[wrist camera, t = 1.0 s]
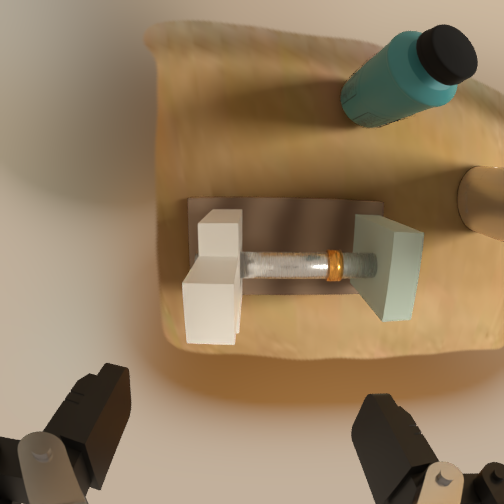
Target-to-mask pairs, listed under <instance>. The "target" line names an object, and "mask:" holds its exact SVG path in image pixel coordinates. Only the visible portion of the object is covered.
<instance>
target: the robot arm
mask: <svg viewBox="0 0 504 504" xmlns="http://www.w3.org/2000/svg"><path fill="white" fill-rule="evenodd" d="M458 209H459V213H460V216H461V219H462V220H463V222H464V224H465V225H466V226H467V227H468V228H469V229H471V230H473V231H475V232H478V233H481V234H484V235H486V236H489V237H492V238H494V239H497V240H500V241H502V242H504V168H500V167H485V166H477V167H474V168H471V169H470V170H469V171H468V172H467V173H466V174H465V175H464V176H463V178H462V180H461V182H460V186H459V189H458ZM130 411H131V392H130V376H129V369H128V368H126V367H122V366H118V365H113V364H110V363H106V364H104V366H103V367H102V369H101V370H100V372H99V373H98V375H94V374H90V373H89V374H88V375H86V376H85V377H83V378H81V379H80V380H78V381H77V382H76V384H75V385H74V387H73V388H72V389H71V392H70V393H69V394H68V395H67V397H66V398H65V401H63V402H62V404H61V405H60V407H59V408H58V410H57V411H56V413H55V414H54V416H53V417H52V419H51V420H50V422H49V423H48V425H47V426H46V428H45V429H44V430H43V432H33V433H30V434H28V435H26V436H25V437H23V438H22V439H21V440H15V439H10V438H4V437H0V504H21V503H23V504H88V502H87V499H86V497H85V496H86V494H87V491H88V489H89V487H91V488H95V489H97V490H101V487H102V485H103V482H104V480H105V477H106V474H107V472H108V469H109V466H110V464H111V461H112V459H113V456H114V454H115V451H116V449H117V446H118V444H119V441H120V439H121V436H122V434H123V431H124V429H125V427H126V424H127V422H128V419H129V416H130ZM351 436H352V442H353V444H354V447H355V449H356V452H357V455H358V457H359V460H360V463H361V465H362V468H363V471H364V473H365V476H366V479H367V481H368V484H369V487H370V489H371V492H372V495H373V498H374V500H375V503H376V504H504V465H503V464H501V463H497V462H492V463H488V464H487V465H486V466H485V467H484V468H483V469H482V470H481V472H480V473H479V474H462V472H461V471H460V470H459V468H458V467H456V466H455V465H453V464H451V463H449V462H443V461H442V462H439V460H438V459H437V457H436V455H435V454H434V452H433V450H432V449H431V447H430V445H429V444H428V442H427V440H426V439H425V438H424V436H423V434H421V431H420V429H419V428H418V426H416V423H415V421H414V420H413V418H412V416H411V415H410V414H409V413H408V412H406V411H405V410H404V409H403V408H402V407H401V406H397V404H396V403H395V401H394V400H393V398H392V397H391V395H390V394H387V393H386V394H368V395H367V397H366V398H365V400H364V402H363V404H362V406H361V409H360V411H359V413H358V415H357V417H356V419H355V422H354V424H353V426H352V432H351Z"/></svg>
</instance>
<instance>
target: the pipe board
mask: <svg viewBox="0 0 504 504" xmlns="http://www.w3.org/2000/svg"><path fill="white" fill-rule="evenodd" d="M213 209H242V252H326V250H341V251H342V252H343V253H353V243H354V229H355V214H361V215H380V216H383V213H384V202H380V201H367V200H348V199H324V198H292V197H189V198H188V232H189V258H190V269H191V268H192V266H193V265H194V262H195V254H196V251H199V249H198V223H199V222H200V221H201V220H202V219H203V218H204V217H205V216H206V215H207V214H208V213H209V212H210V211H211V210H213ZM328 294H359V293H358V291H357V290H356V289H355V288H354V287H353V285H352V284H351V283H350V278H342V279H341V281H326V280H325V279H263V278H242V295H328Z"/></svg>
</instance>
